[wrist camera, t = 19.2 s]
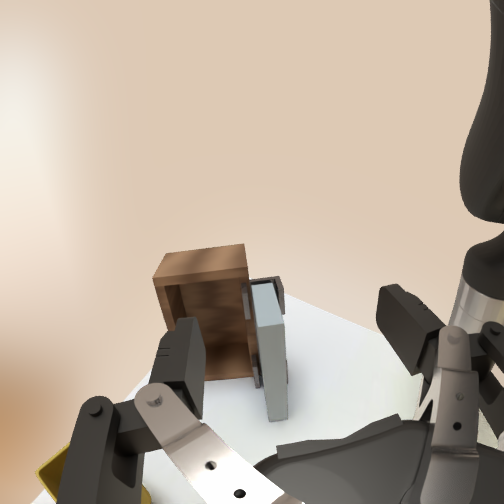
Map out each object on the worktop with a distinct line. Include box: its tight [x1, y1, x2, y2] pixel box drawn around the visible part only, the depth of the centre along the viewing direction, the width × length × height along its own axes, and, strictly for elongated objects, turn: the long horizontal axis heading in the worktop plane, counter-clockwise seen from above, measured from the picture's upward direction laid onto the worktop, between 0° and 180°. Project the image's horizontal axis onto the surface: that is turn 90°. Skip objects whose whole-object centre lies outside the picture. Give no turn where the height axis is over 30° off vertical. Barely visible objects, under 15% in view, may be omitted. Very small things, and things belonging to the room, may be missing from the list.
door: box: [251, 283, 288, 422], centre depth 31 cm, size 2×8×16 cm, turn 4°
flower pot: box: [35, 442, 151, 504], centre depth 15 cm, size 9×9×9 cm
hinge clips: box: [241, 276, 288, 388], centre depth 34 cm, size 5×3×16 cm
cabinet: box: [152, 244, 261, 381], centre depth 38 cm, size 11×8×18 cm
